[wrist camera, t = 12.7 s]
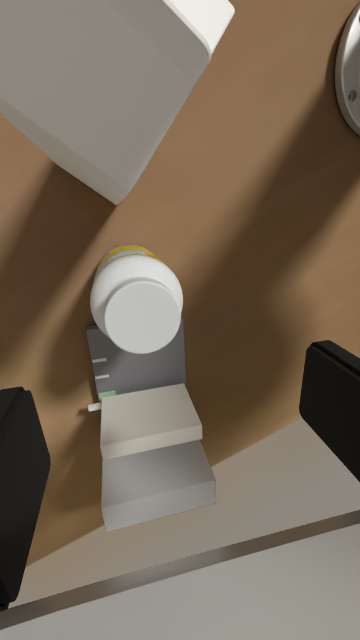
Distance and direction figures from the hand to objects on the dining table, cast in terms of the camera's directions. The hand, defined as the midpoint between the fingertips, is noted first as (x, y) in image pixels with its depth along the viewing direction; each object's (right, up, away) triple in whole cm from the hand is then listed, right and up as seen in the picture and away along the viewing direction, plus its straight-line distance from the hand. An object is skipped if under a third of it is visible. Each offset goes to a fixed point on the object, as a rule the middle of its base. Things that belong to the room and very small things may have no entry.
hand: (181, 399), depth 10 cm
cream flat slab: (-5, -6, +22) cm, 23 cm away
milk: (-7, +17, +15) cm, 24 cm away
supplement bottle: (-5, +7, +19) cm, 21 cm away
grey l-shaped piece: (-4, -4, +24) cm, 24 cm away
